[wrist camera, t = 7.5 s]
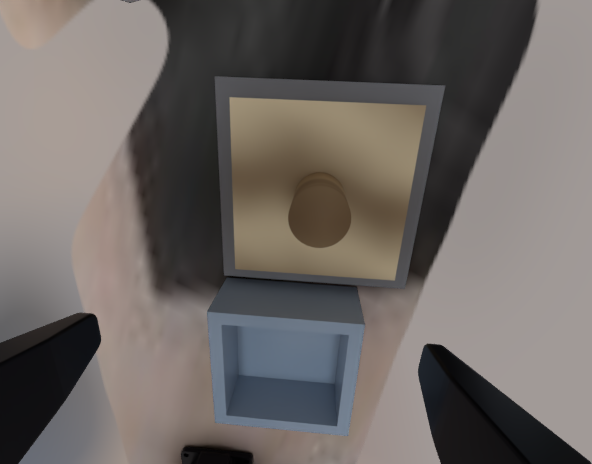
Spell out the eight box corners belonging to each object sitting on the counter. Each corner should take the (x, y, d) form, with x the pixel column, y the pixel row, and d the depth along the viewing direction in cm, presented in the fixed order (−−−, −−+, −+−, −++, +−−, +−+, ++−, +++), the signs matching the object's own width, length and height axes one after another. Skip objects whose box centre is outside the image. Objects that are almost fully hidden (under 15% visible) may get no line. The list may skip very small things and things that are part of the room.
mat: (402, 284, 20) (404, 288, 20) (226, 271, 21) (223, 275, 20) (440, 86, 16) (445, 85, 15) (218, 77, 17) (214, 76, 16)
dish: (343, 386, 24) (348, 436, 20) (231, 375, 24) (215, 422, 21) (356, 287, 21) (364, 324, 17) (226, 277, 21) (207, 311, 17)
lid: (391, 274, 19) (413, 321, 15) (238, 263, 20) (214, 305, 15) (421, 105, 16) (461, 101, 11) (233, 98, 16) (201, 90, 12)
